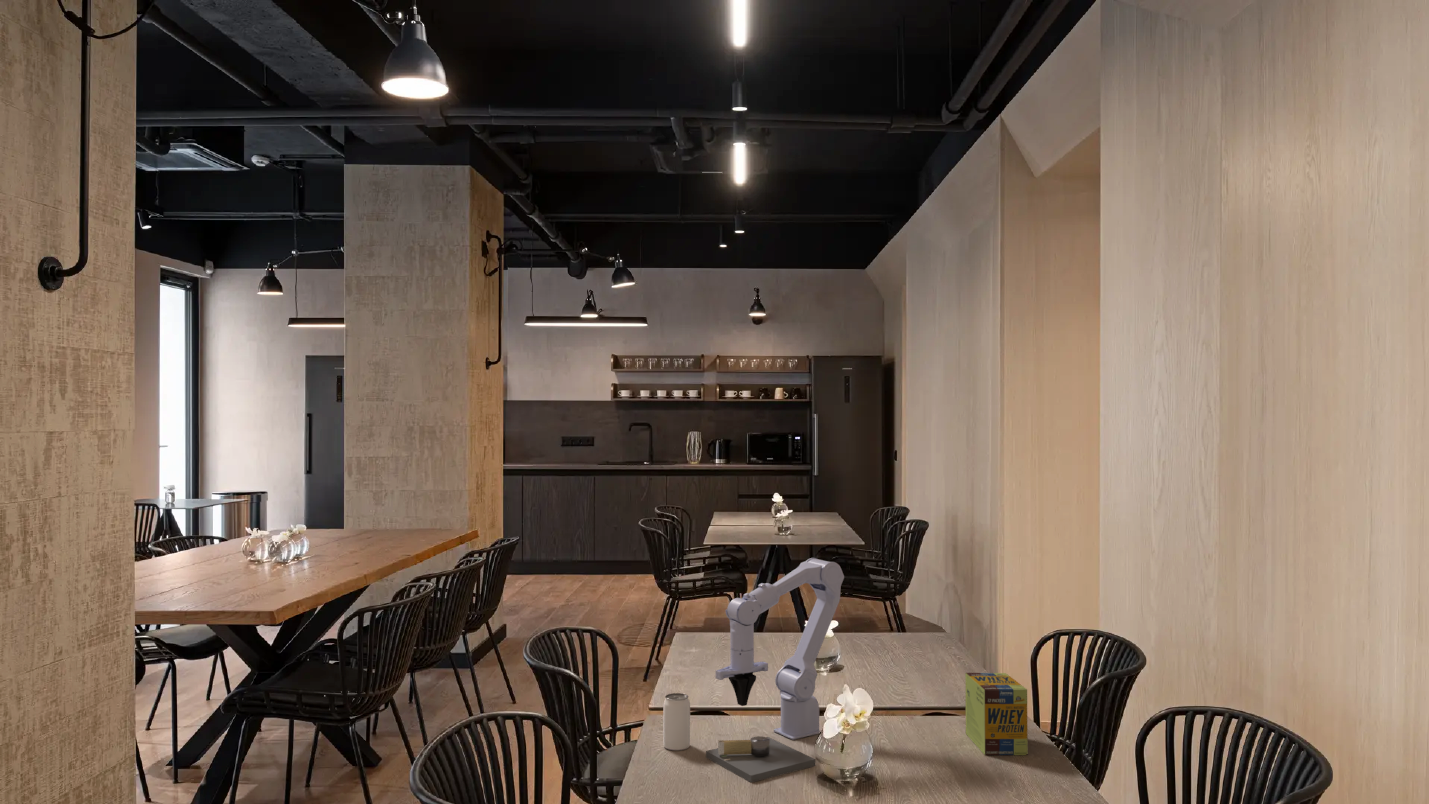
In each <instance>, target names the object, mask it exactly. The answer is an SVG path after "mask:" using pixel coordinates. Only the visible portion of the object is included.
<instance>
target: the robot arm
mask: <svg viewBox="0 0 1429 804" xmlns="http://www.w3.org/2000/svg"><path fill="white" fill-rule="evenodd" d="M844 580H845V575H844V573H843V570H842V568H841V566H840V564H839V563H837V562H835V561H827V560H823V559H818V558H816V557H811V558H808V559H807V560H805V561H802V562H800V564H799V565H798V566H797V567H796V568H795V569H793V570H791V572H788V573H786V575H784V576H783V577H781V578H780V579H779V580H777V581H775V582H774V583H772V584H771V583H769V582H766V583H763V582H761V583H759V584H758V585H757V586H758V587H757V588H755V589H754V590H752V591H750V592H747V593H744V594H743V595H742V598H741V597H736V598H733V599H732V600H731V601H730V602H729V603H728V604H727V608H726V609H725V615H726V618H727V619H728V620H729V626H730V627H729V629H730V631H729V633H730V634H729V635H730V640H729V641H730V644H729V645H730V647H729V648H730V655H729V656H730V659H729V661H730V664H729V665H728V666H725V667H722V668H720V669H715V679H716V680H719V681H723V680H724V679H728V680H729V682H730V683H731V686H732V688H733V691H734V695H735V697H736V702H737V705H739V706H741V707H744V706H748V702H749V701H748V700H749V698H750V694H751V690H752V688H753V686H754V684H755V682H756V681H757V676H756V675H755V674H754V673H758V672H759V673H761V672H768V671H769V663H768V662H765V661H757V662H755V657H754V656H755V653H754V652H755V651H754V648H755V647H754V645H755V642H754V640H755V639H754V638H755V637H754V636H755V635H754V634H755V633H754V631H755V629H754V628H755V627H754V625H755V624H754V623H756V622H757V620H758V618H759V616H760V614H763V613H765V612H766V611H767V610H769V609H771V608H772V607H774V606H775V605H777V604H778V603H779V601H780V597H782V596H784V595H786V594H787V593H790V592H791V591H793V590H794V589H795V590H796V588H799V587H800V586H802V585H804V584H808V585H809V586H810V587H811V589H812V590H813V592H814V594H815V596H816V601H815V603H814V605H813V607H812V610H811V613H810V614H809V618H808V620H807V623H806V625H805V627H804V629H803V632H802V634H801V637H800V639H799V642H798V644H797V647H796V650H795V651H794V654H793V655H792V656H790V657H788V658H787V659H786V660H785V662H783V665H782V667H781V668H780V669H778V671H777V673H776V674H775V677H774V678H775V679H774V682H775V686H776V688H777V690H779V695H780V727H777V728H774V729H773V732H774V733H777V734H779V735H782V736H783V737H786V738H788V739H790V740H792V741H793V740H797V739H802V738H806V737H810V736H814V735H818V734H820V733H819V732H820V731H821V730H820V705H819V701H818V699H817V698H816V696H814V692H815V690H816V679H817V676H818V672H817V669H816V667H815V662H816V660H817V657H818V656H819V652H820V651H821V648H822V645H823V643H824V640H825V637H826V635H827V632H828V631H829V628H830V626H831V623H832V621H833V618H834V615H835V614H836V610H837V608H838V606H839V603H840V601H841V590H842V589H841V586H842V584H843V581H844Z"/></svg>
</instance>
